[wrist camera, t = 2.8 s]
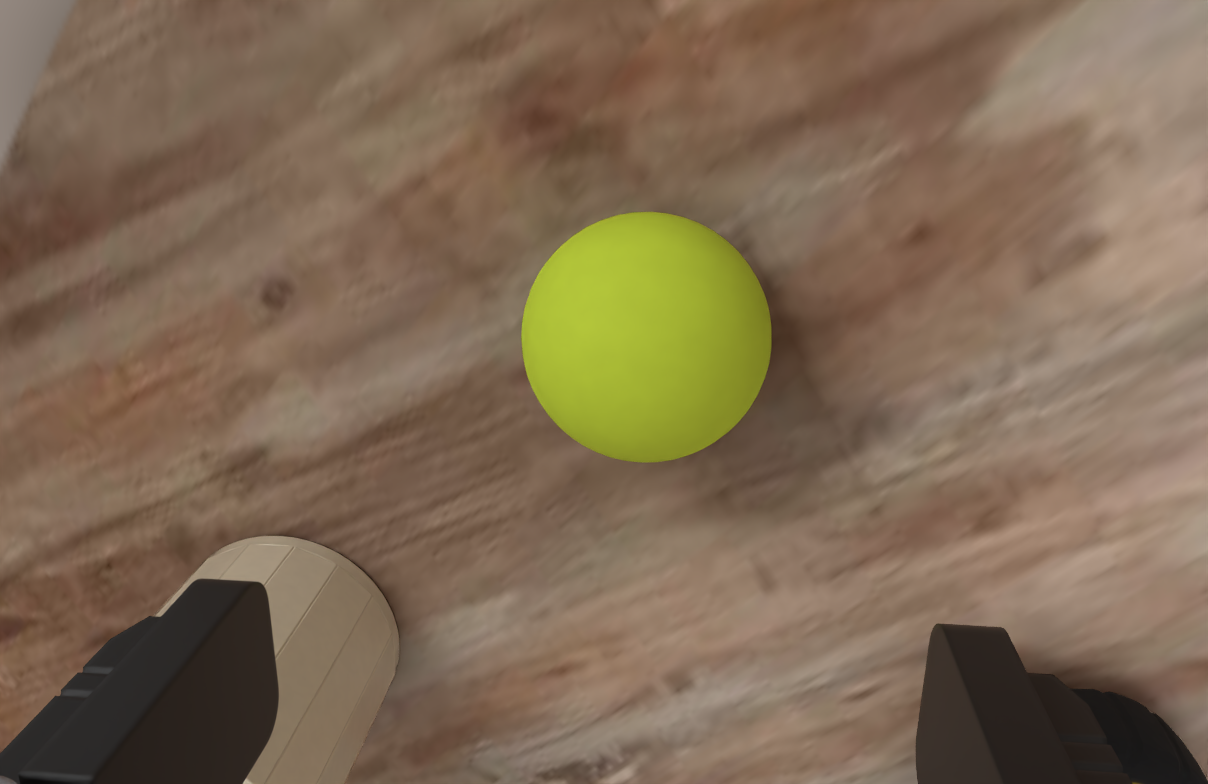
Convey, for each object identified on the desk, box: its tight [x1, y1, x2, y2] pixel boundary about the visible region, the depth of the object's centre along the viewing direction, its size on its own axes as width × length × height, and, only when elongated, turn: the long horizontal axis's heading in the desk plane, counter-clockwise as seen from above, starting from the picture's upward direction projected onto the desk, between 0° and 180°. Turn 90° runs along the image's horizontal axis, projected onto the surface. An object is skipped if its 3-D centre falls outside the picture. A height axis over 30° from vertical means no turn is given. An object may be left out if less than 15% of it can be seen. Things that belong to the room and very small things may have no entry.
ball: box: [521, 212, 771, 462], centre depth 25 cm, size 6×6×6 cm
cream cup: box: [153, 536, 399, 784], centre depth 28 cm, size 7×7×9 cm
